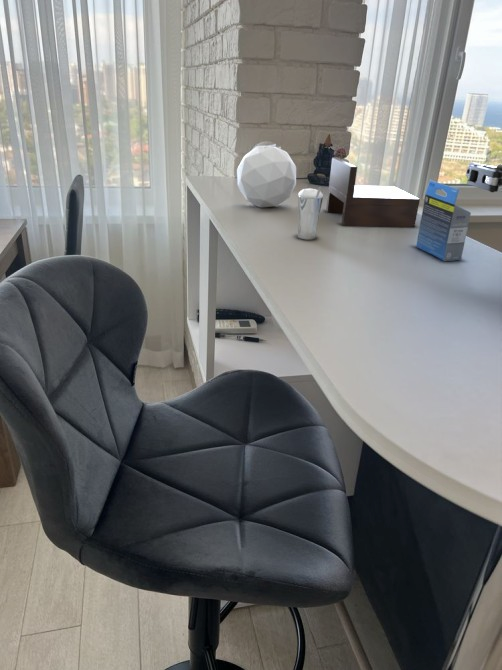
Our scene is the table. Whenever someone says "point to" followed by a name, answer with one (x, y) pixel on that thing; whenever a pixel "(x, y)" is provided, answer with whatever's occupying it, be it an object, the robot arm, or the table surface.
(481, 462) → the table surface
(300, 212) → the milkshake
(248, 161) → the geodesic sphere
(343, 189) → the l-shaped wooden block
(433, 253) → the label tape box
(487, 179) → the robot arm
